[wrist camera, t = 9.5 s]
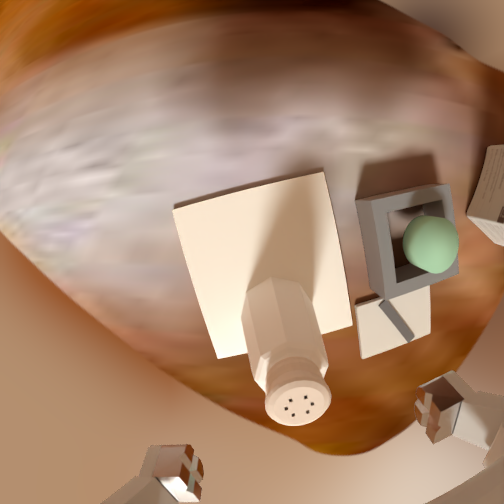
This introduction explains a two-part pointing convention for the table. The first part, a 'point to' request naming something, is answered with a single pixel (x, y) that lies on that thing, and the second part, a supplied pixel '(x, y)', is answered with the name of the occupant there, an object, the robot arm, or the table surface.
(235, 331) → the paper
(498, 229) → the skincare box
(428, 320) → the card
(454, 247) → the button
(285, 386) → the pepper shaker
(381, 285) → the button housing
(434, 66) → the table surface
